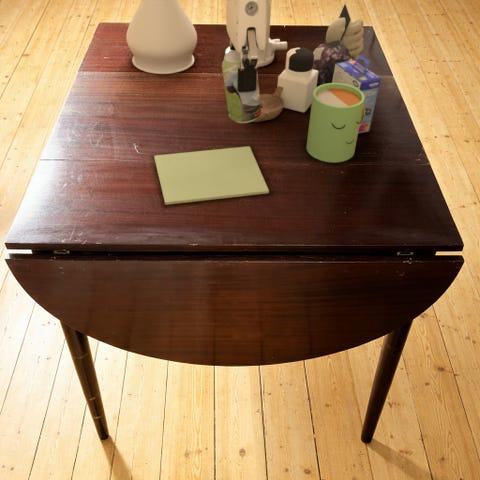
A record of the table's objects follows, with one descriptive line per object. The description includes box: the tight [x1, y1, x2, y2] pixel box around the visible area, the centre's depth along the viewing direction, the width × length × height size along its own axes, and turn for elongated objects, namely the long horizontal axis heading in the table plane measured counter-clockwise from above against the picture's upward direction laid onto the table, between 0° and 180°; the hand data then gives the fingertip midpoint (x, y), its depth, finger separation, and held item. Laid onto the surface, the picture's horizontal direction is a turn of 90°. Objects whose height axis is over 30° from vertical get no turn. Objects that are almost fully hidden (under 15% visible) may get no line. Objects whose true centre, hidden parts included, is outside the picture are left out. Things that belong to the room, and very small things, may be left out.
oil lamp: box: [251, 85, 284, 123], centre depth 136 cm, size 13×8×5 cm, turn 137°
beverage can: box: [221, 49, 261, 124], centre depth 109 cm, size 6×7×12 cm
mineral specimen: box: [312, 40, 352, 86], centre depth 146 cm, size 10×10×10 cm
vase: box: [125, 0, 198, 75], centre depth 145 cm, size 17×17×25 cm
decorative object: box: [325, 4, 365, 61], centre depth 153 cm, size 13×10×10 cm
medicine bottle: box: [276, 47, 318, 114], centre depth 137 cm, size 7×7×12 cm
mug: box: [306, 83, 365, 163], centre depth 124 cm, size 13×10×12 cm
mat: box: [153, 145, 270, 206], centre depth 120 cm, size 20×16×1 cm
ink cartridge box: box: [332, 54, 382, 135], centre depth 130 cm, size 10×6×14 cm, turn 27°
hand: (242, 80), depth 108 cm, fingers closed on beverage can, 6 cm apart
